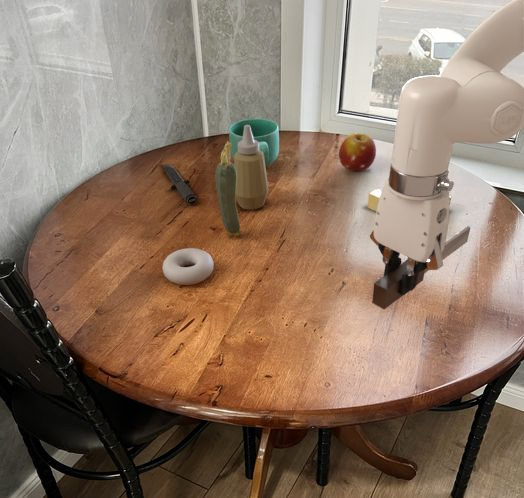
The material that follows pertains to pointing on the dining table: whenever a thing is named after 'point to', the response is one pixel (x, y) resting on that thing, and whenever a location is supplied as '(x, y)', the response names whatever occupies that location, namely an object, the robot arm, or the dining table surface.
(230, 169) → the vegetable
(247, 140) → the squeeze bottle
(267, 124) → the mug
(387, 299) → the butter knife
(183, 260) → the donut
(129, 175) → the dining table surface
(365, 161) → the fruit
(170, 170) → the knife
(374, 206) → the butter slice
